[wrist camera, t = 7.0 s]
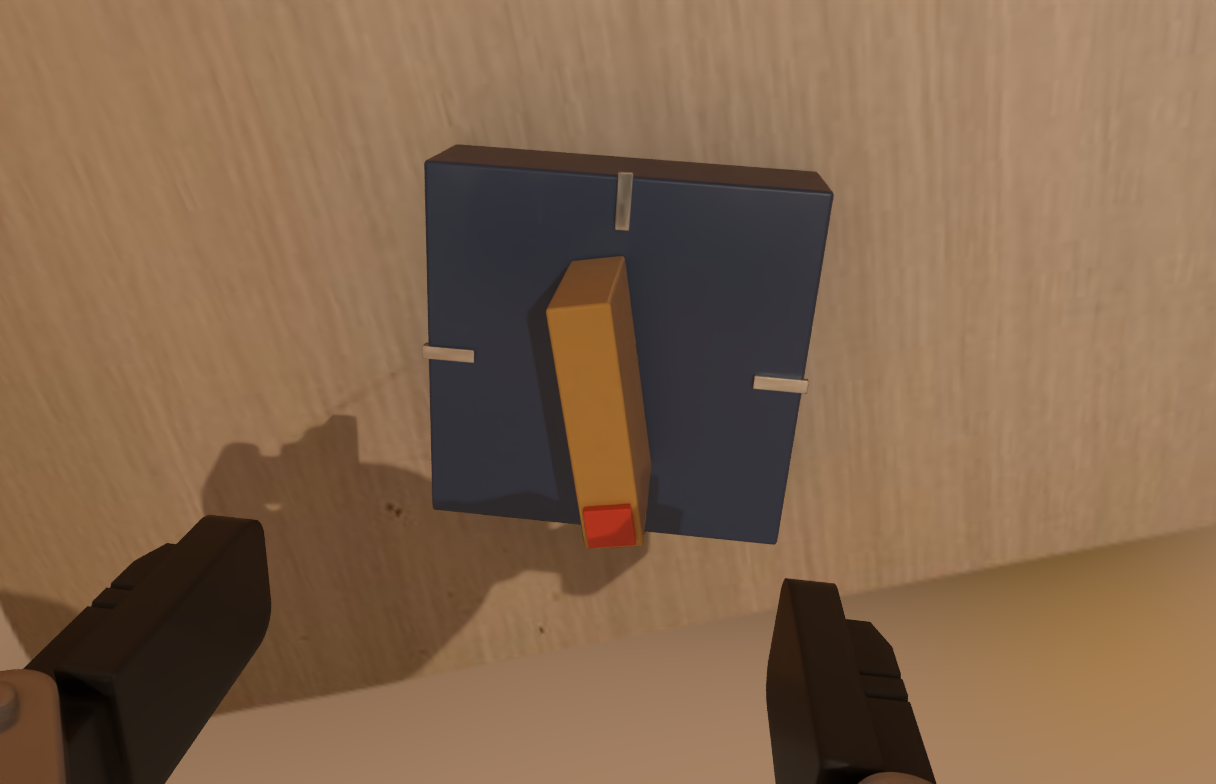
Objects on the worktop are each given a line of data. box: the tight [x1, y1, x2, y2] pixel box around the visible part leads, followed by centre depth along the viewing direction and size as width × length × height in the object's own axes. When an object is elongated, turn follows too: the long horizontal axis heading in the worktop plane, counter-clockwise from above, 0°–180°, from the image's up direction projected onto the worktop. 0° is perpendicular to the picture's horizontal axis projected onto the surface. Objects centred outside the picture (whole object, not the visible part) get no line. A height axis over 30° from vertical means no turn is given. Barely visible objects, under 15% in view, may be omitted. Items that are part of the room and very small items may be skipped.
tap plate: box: [422, 145, 834, 544], centre depth 24 cm, size 10×10×3 cm
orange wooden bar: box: [546, 256, 651, 549], centre depth 21 cm, size 6×1×4 cm, turn 8°
